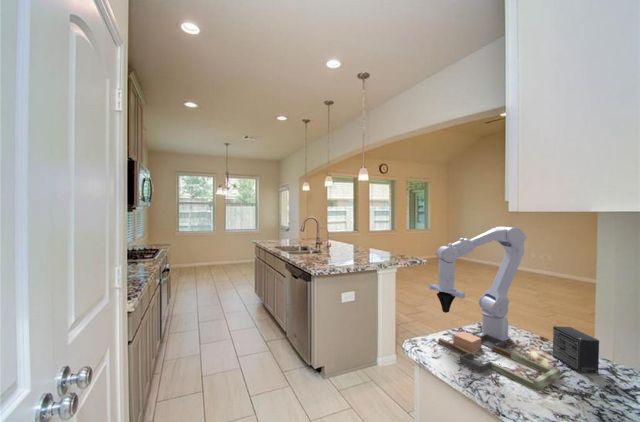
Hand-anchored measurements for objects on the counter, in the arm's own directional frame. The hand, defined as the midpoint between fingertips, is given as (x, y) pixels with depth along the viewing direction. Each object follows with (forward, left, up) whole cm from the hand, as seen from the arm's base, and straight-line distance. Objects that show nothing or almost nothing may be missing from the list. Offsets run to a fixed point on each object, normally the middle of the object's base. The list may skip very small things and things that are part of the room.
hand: (445, 311), depth 111 cm
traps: (0, +15, -10) cm, 18 cm away
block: (0, +9, -10) cm, 14 cm away
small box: (-20, +33, -10) cm, 40 cm away
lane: (0, +18, -10) cm, 21 cm away
